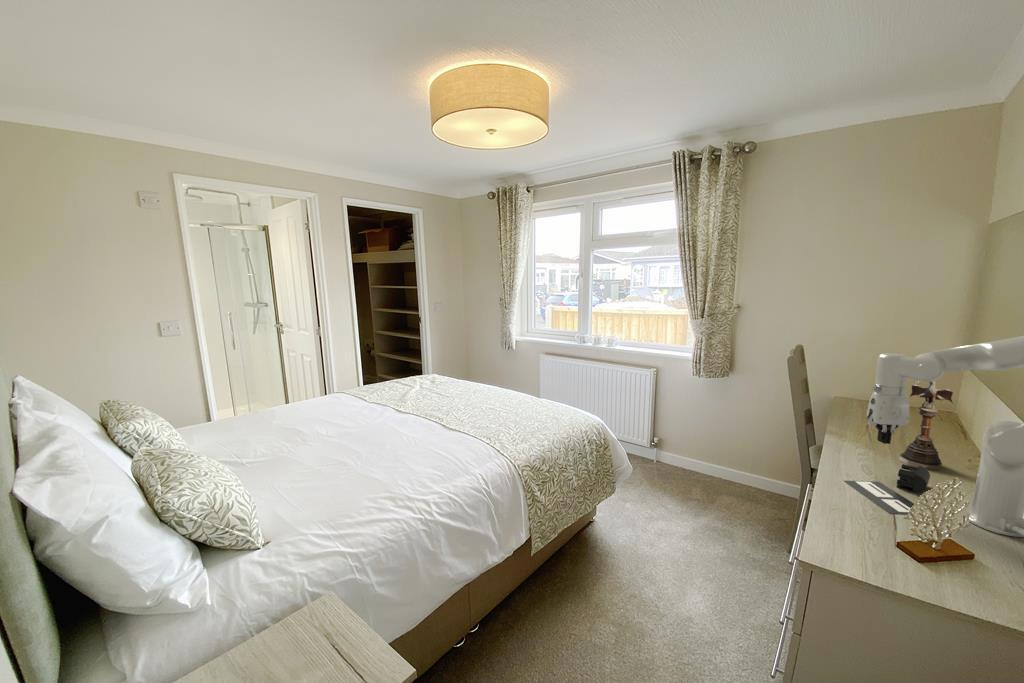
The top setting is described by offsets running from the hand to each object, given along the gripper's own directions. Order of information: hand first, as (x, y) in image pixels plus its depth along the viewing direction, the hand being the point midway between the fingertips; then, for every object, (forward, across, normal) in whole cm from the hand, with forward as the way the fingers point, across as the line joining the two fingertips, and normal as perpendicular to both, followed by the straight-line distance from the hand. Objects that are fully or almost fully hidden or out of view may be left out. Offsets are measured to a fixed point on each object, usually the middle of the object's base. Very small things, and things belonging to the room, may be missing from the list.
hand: (883, 442), depth 133 cm
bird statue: (+18, +33, +24) cm, 45 cm away
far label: (+18, -1, 0) cm, 18 cm away
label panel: (+18, -1, -4) cm, 18 cm away
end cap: (+18, +13, +3) cm, 23 cm away
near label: (+18, -1, -10) cm, 20 cm away
